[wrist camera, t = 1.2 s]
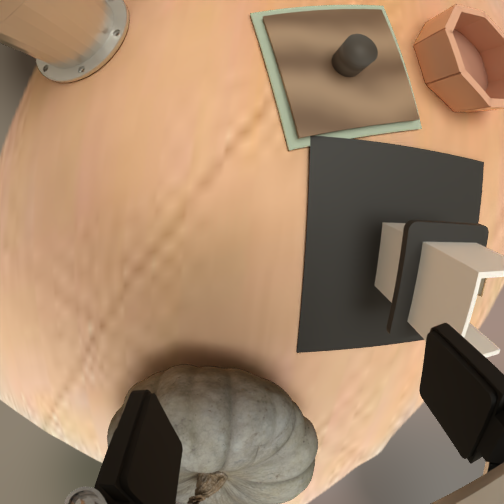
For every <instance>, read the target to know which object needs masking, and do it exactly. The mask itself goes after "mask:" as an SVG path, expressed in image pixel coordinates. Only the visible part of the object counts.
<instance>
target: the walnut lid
mask: <svg viewBox="0 0 504 504" xmlns="http://www.w3.org/2000/svg"><path fill="white" fill-rule="evenodd" d="M262 20H263V23H264V26H265V29H266V32H267V35H268V38H269V41H270V44H271V47H272V50H273V53H274V56H275V59H276V63H277V66H278V69H279V72H280V76H281V79H282V82H283V86H284V89H285V93H286V96H287V99H288V103H289V107H290V110H291V114H292V117H293V121H294V125H295V128H296V132H297V136H298V139H299V138H304V137H309V136H315V135H320V134H325V133H331V132H337V131H342V130H348V129H355V128H361V127H368V126H375V125H382V124H390V123H398V122H406V121H416V120H420V119H419V115H418V112H417V108H416V104H415V101H414V97H413V94H412V90H411V87H410V84H409V81H408V77H407V74H406V71H405V68H404V65H403V62H402V60H401V57H400V54H399V51H398V49H397V46H396V43H395V41H394V38H393V36H392V33H391V31H390V28H389V26H388V23H387V21H386V19H385V16H384V14H383V12H382V10H381V9H329V10H312V11H300V12H290V13H282V14H274V15H267V16H263V18H262Z"/></svg>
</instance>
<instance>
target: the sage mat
mask: <svg viewBox="0 0 504 504" xmlns="http://www.w3.org/2000/svg"><path fill="white" fill-rule="evenodd" d="M329 9H381V10H382V12H383V14H384V16H385V19H386V21H387V23H388V26H389V28H390V31H391V33H392V36H393V38H394V41H395V43H396V46H397V49H398V51H399V54H400V57H401V60H402V62H403V65H404V68H405V71H406V74H407V77H408V81H409V84H410V87H411V83H410V80H409V76H408V73H407V70H406V67H405V63H404V60H403V57H402V54H401V51H400V48H399V45H398V43H397V40H396V37H395V34H394V32H393V29H392V27H391V24H390V21H389V19H388V16H387V14H386V12H385V9H384V7H383V6H376V5H324V6H307V7H295V8H286V9H277V10H269V11H262V12H256V13H250V16H251V20H252V23H253V26H254V29H255V32H256V35H257V39H258V42H259V45H260V48H261V52H262V55H263V59H264V62H265V65H266V69H267V72H268V76H269V79H270V83H271V86H272V90H273V94H274V97H275V101H276V105H277V108H278V112H279V116H280V120H281V124H282V127H283V131H284V135H285V139H286V143H287V147H288V151H289V150H293V149H298V148H303V147H308V146H310V136H309V137H304V138H299V139H298V136H297V132H296V128H295V125H294V121H293V117H292V114H291V110H290V107H289V103H288V99H287V96H286V93H285V89H284V86H283V82H282V79H281V76H280V72H279V69H278V66H277V63H276V59H275V56H274V53H273V50H272V47H271V44H270V41H269V38H268V35H267V32H266V29H265V26H264V23H263V20H262V18H263V16H267V15H274V14H282V13H290V12H300V11H312V10H329ZM411 90H412V87H411ZM412 94H413V90H412ZM413 97H414V94H413ZM414 101H415V98H414ZM415 104H416V102H415ZM416 108H417V106H416ZM417 112H418V110H417ZM418 115H419V114H418ZM419 119H420V118H419ZM415 129H422V127H421V123H420V120H416V121H406V122H398V123H390V124H382V125H375V126H368V127H361V128H355V129H348V130H342V131H337V132H331V133H325V134H320V135H315V136H326V137H338V138H348V139H351V138H358V137H364V136H370V135H377V134H384V133H391V132H399V131H407V130H415Z"/></svg>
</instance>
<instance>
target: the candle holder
mask: <svg viewBox="0 0 504 504" xmlns="http://www.w3.org/2000/svg"><path fill="white" fill-rule="evenodd" d="M483 167H484V162H481V161H477V160H472V159H468V158H464V157H459V156H455V155H450V154H445V153H440V152H435V151H430V150H425V149H419V148H413V147H407V146H401V145H395V144H388V143H381V142H373V141H365V140H357V139H348V138H338V137H326V136H310V170H309V196H308V217H307V235H306V251H305V266H304V279H303V292H302V304H301V315H300V326H299V336H298V346H297V353H299V352H316V351H330V350H342V349H353V348H363V347H373V346H381V345H389V344H397V343H404V342H412V341H418V340H425V341H426V338H427V334H428V333H430V330H431V328H432V327H435V326H437V325H440V324H442V323H448V324H449V325H450V326H451V327H453V328H454V329H455V330H456V331H457V332H458V333H459V334H460V335H462V336H463V337H464V338H465V339H466V340H467V341H468V342H469V343H470V344H472V345H473V346H474V347H475V348H476V349H477V350H478V351H479V352H480V353H481V354H482V355H484V356H485V357H490V356H493V355H496V354H499V352H500V348H498V347H497V346H496V345H495V344H494V343H493V342H492V341H490V340H489V339H488V338H487V337H486V336H485V335H484V334H482V333H481V332H480V331H479V330H478V329H477V328H475V327H474V326H473V325H472V324H471V323H469V322H470V319H471V315H472V312H473V309H474V305H475V302H476V298H477V295H479V296H482V295H483V291H484V287H485V283H486V279H487V278H493V277H504V255H501V254H499V253H497V252H495V251H493V250H491V249H489V248H487V247H486V245H487V239H488V228H487V227H486V226H484V225H481V224H478V221H479V213H480V205H481V195H482V183H483Z"/></svg>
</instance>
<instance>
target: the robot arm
mask: <svg viewBox="0 0 504 504" xmlns="http://www.w3.org/2000/svg"><path fill="white" fill-rule="evenodd" d="M128 25H129V11H128V8H127V5H126V4H125V2H124V1H123V0H0V43H1V44H3V45H6V46H8V47H11V48H13V49H16V50H18V51H20V52H23V53H25V54H27V55H30V56H32V57H34V58H35V59H36V64H37V67H38V69H39V71H40V72H41V73H42V74H43V75H44V76H45V77H47V78H48V79H50V80H53V81H56V82H62V83H65V82H73V81H77V80H80V79H82V78H85V77H87V76H89V75H91V74H92V73H94V72H95V71H97V70H98V69H99V68H101V67H102V66H103V65H104V64H106V63H107V61H108V60H109V59H110V58H111V57H112V56H113V55H114V54H115V52H116V51H117V50H118V48H119V47H120V45H121V43H122V42H123V40H124V38H125V35H126V33H127V30H128ZM83 71H84V72H83ZM420 395H421V397H422V399H423V400H424V402H425V403H426V404H427V406H428V407H429V409H430V410H431V412H432V413H433V415H434V416H435V417H436V419H437V420H438V422H439V423H440V425H441V426H442V428H443V429H444V431H445V432H446V434H447V435H448V437H449V438H450V440H451V441H452V443H453V444H454V446H455V447H456V449H457V450H458V452H459V453H460V455H461V456H462V457H463V458H464V459H466V458H467V459H468V460H469V462H470V463H473V462H474V461H476V460H478V459H479V458H481V457H483V458H484V459H485V461H486V463H485V468H484V473H483V476H481V477H480V478H478V479H476V480H474V481H473V482H471V483H469V484H467V485H466V486H464V487H462V488H460V489H458V490H456V491H455V492H453V493H451V494H449V495H447V496H445V497H443V498H441V499H439V500H437V501H435V502H433V503H431V504H504V375H503V374H502V373H501V372H500V371H499V370H498V369H497V368H496V367H495V366H494V365H493V364H492V363H491V362H490V361H489V360H488V359H487V358H486V357H485V356H484V355H482V354H481V353H480V352H479V351H478V350H477V349H476V348H475V347H474V346H473V345H472V344H470V343H469V342H468V341H467V340H466V339H465V338H464V337H463V336H462V335H460V334H459V333H458V332H457V331H456V330H455V329H454V328H453V327H451V326H450V325H449V324H448V323H442V324H440V325H437V326H435V327H432V328H431V330H430V333H428V334H427V338H426V347H425V355H424V363H423V370H422V377H421V383H420ZM182 452H183V447H182V443H181V441H180V439H179V437H178V435H177V433H176V432H175V430H174V428H173V426H172V424H171V423H170V421H169V419H168V417H167V415H166V413H165V411H164V409H163V408H162V406H161V404H160V402H159V400H158V398H157V396H156V394H155V393H151V392H150V391H149V390H147V389H146V390H133V391H131V393H130V395H129V398H128V400H127V403H126V406H125V408H124V411H123V413H122V416H121V419H120V421H119V424H118V426H117V428H116V429H115V431H114V433H113V436H112V439H111V442H110V444H109V447H108V450H107V452H106V455H105V458H104V461H103V464H102V466H101V469H100V472H99V475H98V478H97V481H96V484H95V487H94V488H91V487H80V488H77V489H75V490H74V491H72V492H71V493H70V494H69V495H68V496H67V498H66V500H65V504H175V503H176V496H177V488H178V481H179V473H180V466H181V459H182Z"/></svg>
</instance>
